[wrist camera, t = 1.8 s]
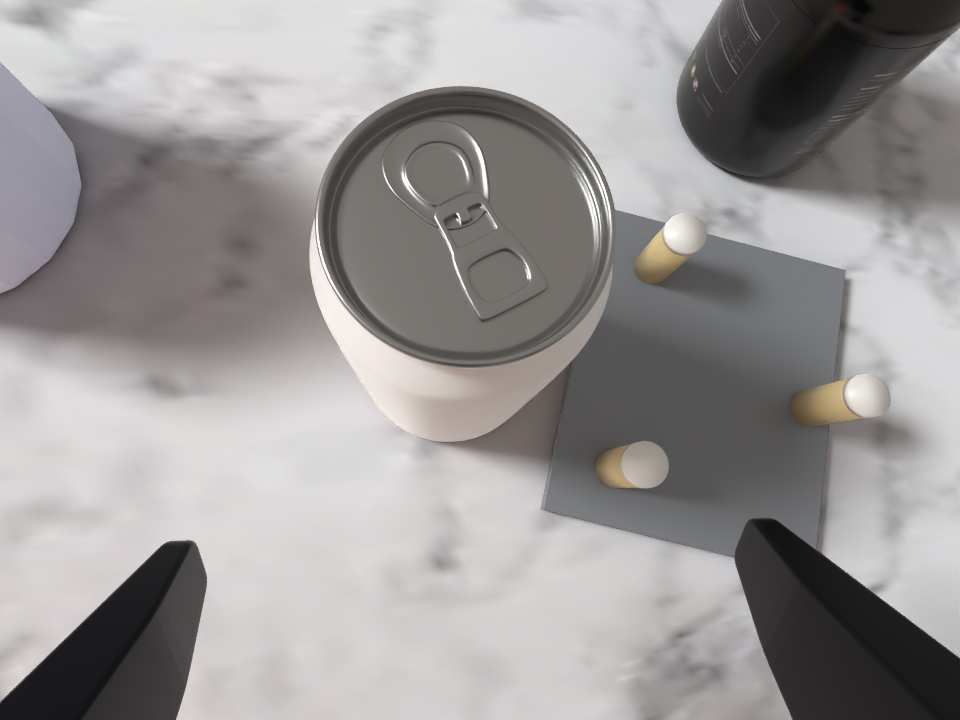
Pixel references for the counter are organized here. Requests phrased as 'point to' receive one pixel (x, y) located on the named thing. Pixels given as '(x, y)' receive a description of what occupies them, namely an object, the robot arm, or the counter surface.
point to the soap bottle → (32, 183)
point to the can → (461, 256)
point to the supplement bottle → (799, 74)
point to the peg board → (705, 390)
